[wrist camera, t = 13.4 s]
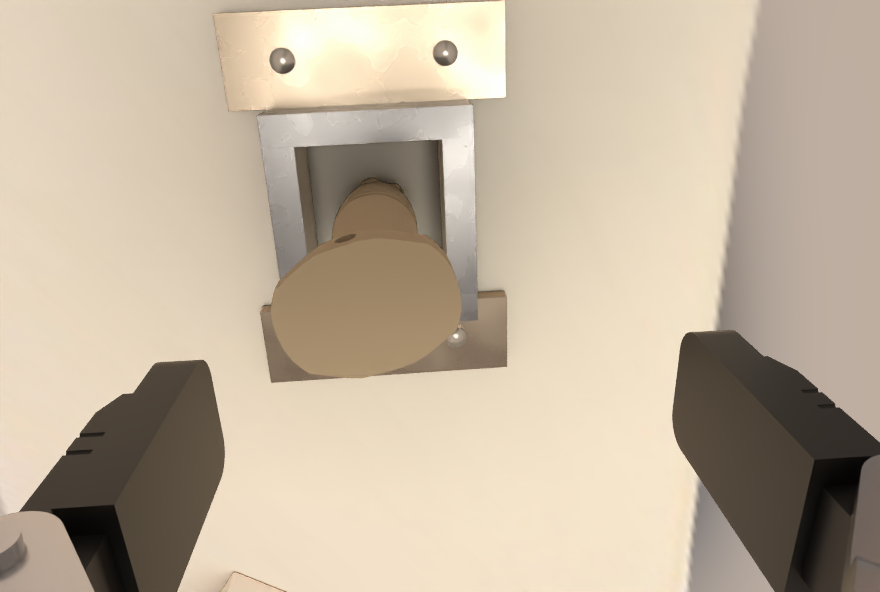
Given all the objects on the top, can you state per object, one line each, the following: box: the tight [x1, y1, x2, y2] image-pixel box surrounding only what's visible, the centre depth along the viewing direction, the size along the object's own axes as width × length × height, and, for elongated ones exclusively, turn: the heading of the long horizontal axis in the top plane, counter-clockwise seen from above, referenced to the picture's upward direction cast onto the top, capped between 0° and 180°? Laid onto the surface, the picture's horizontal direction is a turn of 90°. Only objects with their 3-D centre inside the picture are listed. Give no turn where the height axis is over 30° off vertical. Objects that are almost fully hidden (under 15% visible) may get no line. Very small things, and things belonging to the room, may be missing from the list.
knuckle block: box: [213, 1, 507, 383], centre depth 34 cm, size 20×14×4 cm
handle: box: [271, 178, 462, 378], centre depth 29 cm, size 5×6×15 cm
